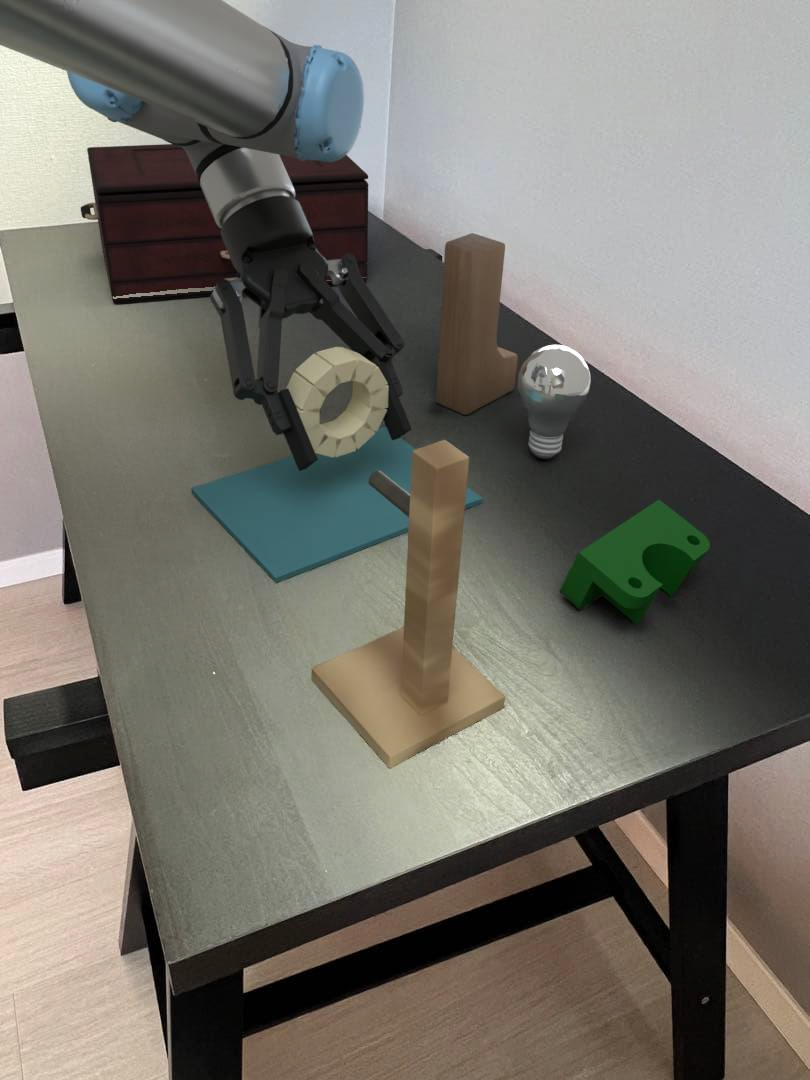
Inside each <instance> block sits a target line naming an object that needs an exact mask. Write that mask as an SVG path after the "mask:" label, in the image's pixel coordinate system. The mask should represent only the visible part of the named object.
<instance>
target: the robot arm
mask: <svg viewBox="0 0 810 1080" xmlns="http://www.w3.org/2000/svg"><path fill="white" fill-rule="evenodd" d="M0 46H2V47H4V48H6V49H10V50H12V51H14V52H17V53H19V54H22V55H25V56H27V57H30V58H32V59H34V60H36V61H37V60H38V61H40V62H41V63H44V64H47V65H49V66H53V67H55V68H58V69H60V70H63V71H66V74H67V79H68V82H69V83H70V84H69V85H70V88H71V89H72V91H73V92H74V94H75V96H76V97H77V99H79V101H80V102H81V103H82V104H83V105H85V106H86V107H88V108H89V109H91V110H93V111H94V112H96V113H98V114H100V115H102V116H104V117H105V118H107V120H108V121H111V122H112V123H119V124H123V125H124V126H128V127H130V128H133V129H135V130H138V131H139V132H143V133H146V134H148V135H151V136H153V137H156V138H159V139H161V140H163V141H164V142H167V144H174V145H177V146H179V147H182V148H183V149H184V150H185V151H186V153H187V155H188V158H189V160H190V162H191V164H192V167H193V169H194V171H195V173H196V176H197V178H198V181H199V183H200V186H201V188H202V191H203V193H204V196H205V198H206V200H207V203H208V205H209V208H210V210H211V212H212V215H213V217H214V220H215V222H216V224H217V225H218V226H219V227H220V228H222V229H221V237H222V239H223V242H224V244H225V247H226V249H227V251H228V254H229V256H230V259H231V261H232V264H233V266H234V267H235V268H236V270H237V273H238V279H235V280H232V281H228V280H226V279H221V280H219V282H218V283H217V285H216V286H215V288H214V290H213V292H212V294H211V295H210V296H209V298H210V302H211V303H212V305H213V306H214V309H215V310H216V312H217V314H218V315H219V317H220V323H221V329H222V333H223V339H224V340H223V341H224V345H225V352H226V357H227V363H228V368H229V375H230V380H231V381H230V382H231V386H232V392H233V396H234V397H235V398H236V399H237V400H239V401H244V400H246V399H249V400H253V402H254V403H255V404H256V405H257V406H261V407H262V409H263V411H264V414H265V416H266V418H267V421H268V424H269V426H270V429H271V431H272V432H273V433H274V434H275V436H281V435H283V436H284V438H285V440H286V443H287V445H288V448H289V450H290V453H291V456H293V458H294V460H295V462H296V465H297V467H298V470H299V471H301V470H304V469H307V468H308V467H309V466H311V465H312V464H313V463H314V462H315V461H317V460H318V459H317V456H316V454H315V452H314V449H313V447H312V444H311V442H310V440H309V437H308V435H307V432H306V430H305V427H304V425H303V423H302V420H301V418H300V416H299V413H298V411H297V408H296V406H295V403H294V401H293V399H292V396H291V394H290V391H289V389H286V388H285V389H281V390H278V388H279V376H280V375H279V374H280V358H281V341H282V327H283V319H287V318H289V317H291V316H292V315H294V314H295V315H304V314H309V313H310V315H312V317H314V318H315V319H316V320H319V321H322V322H323V323H324V324H325V325H326V326H327V328H329V329H330V330H331V332H333V333H334V334H335V335H336V336H337V337H338V338H339V339H340V340H341V341H343V343H344V344H346V346H347V347H348V348H349V349H350V350H351V351H354V352H357V353H359V354H360V355H362V356H363V357H365V358H366V359H368V360H369V361H371V362H372V363H374V364H375V365H376V366H377V367H379V369H380V371H381V373H382V374H383V376H384V378H385V379H386V381H387V383H388V384H387V385H388V386H389V390H388V408H385V409H387V412H386V414H385V416H384V418H383V420H382V421H383V422H384V425H385V427H387V430H388V432H389V434H390V437H391V439H392V440H395V439H398V438H402V437H403V436H404V435H405V434H407V433H408V432H409V431H411V430H413V427H412V425H411V423H410V421H409V419H408V416H407V414H406V412H405V409H404V407H403V404H402V401H401V400H400V397H401V396H402V395H404V392H403V386H402V384H401V382H400V379H399V377H398V374H397V371H396V369H395V367H394V365H393V359H394V357H395V356H396V355H397V354H398V353H400V352H401V351H402V350H403V349H404V348H405V343H406V342H405V340H404V339H403V338H402V335H401V334H400V333H399V331H398V330H397V328H396V327H395V325H394V323H393V322H392V321H391V319H390V318H389V316H388V315H387V314H386V313H387V312H385V310H384V309H383V308H382V306H381V304H380V303H379V301H378V300H377V298H376V297H375V295H374V294H373V292H372V291H371V289H370V288H369V286H368V285H367V282H366V283H365V282H364V280H363V279H362V277H361V275H360V272H359V269H358V265H357V262H356V259H355V257H354V256H353V255H352V254H349V253H347V254H345V255H344V256H343V258H342V259H336V260H326V259H325V258H324V257H323V256H322V255H321V254H320V253H319V252H318V250H317V249H316V247H315V243H314V238H313V234H312V231H311V229H310V226H309V224H308V222H307V219H306V217H305V215H304V212H303V210H302V207H301V205H300V203H299V202H298V201H297V200H296V199H295V195H296V194H295V190H294V187H293V185H292V183H291V180H290V178H289V176H288V174H287V171H286V169H285V167H284V165H283V162H282V160H281V158H280V156H279V155H284V156H289V157H294V158H299V160H302V161H305V160H307V159H308V160H316V161H325V162H334V161H337V160H339V159H341V158H343V157H344V156H345V155H348V154H349V153H350V151H351V150H352V149H353V147H354V146H355V143H356V141H357V139H358V137H359V134H360V131H361V128H362V121H363V115H364V111H365V89H364V82H363V78H362V75H361V72H360V70H359V68H358V65H357V64H356V62H355V61H354V59H352V57H351V56H350V55H348V54H346V53H345V52H341V51H338V50H334V49H333V50H332V49H327V48H323V47H322V46H321V45H318V44H313V45H312V46H307V45H302V44H297V43H294V42H291V41H289V40H288V39H286V38H284V36H281V35H280V34H279V33H276V32H275V31H273V30H271V29H270V28H268V27H266V26H264V25H262V24H260V23H259V22H258V21H256V20H254V19H252V18H251V17H250V16H248V15H246V14H244V13H243V12H242V11H240V10H238V9H237V8H236V7H234V6H233V5H231V4H229V3H227V2H226V1H225V0H0ZM326 276H329V277H331V279H332V280H333V281H332V283H333V284H334V285H336V286H337V287H338V289H339V291H340V294H341V296H342V297H343V299H344V300H345V302H346V303H347V305H348V306H349V308H350V309H349V308H348V307H347V306H346V305H345V304H344V303H343V302H342V301H341V299H340V296H339V294H338V293H337V292H336V290H335V289H333V287H332V286H329V285H328V284H327V283H326V282H325V281H326ZM243 295H244V296H245V297H246V298H248V299H249V300H250V301H252V302H253V303H254V304H256V305H257V306H258V307H259V313H258V328H259V335H258V336H259V337H258V351H257V364H256V365H257V366H256V367H257V368H256V376H255V372H254V370H255V369H254V367H253V360H252V355H251V348H250V343H249V337H248V332H247V326H246V322H245V321H246V320H245V316H244V315H245V314H244V310H243V305H242V302H243V300H244V296H243ZM321 300H322V302H320V301H321Z"/></svg>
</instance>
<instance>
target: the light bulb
mask: <svg viewBox="0 0 810 1080" xmlns="http://www.w3.org/2000/svg"><path fill="white" fill-rule="evenodd" d="M590 371H591V370H590V367H589V366H588V363H587V362H586V361H585V359H584V358H583V357H582V355H581V354H579V353H578V352H577V351H576V350H575V349H573V348H571V347H569V346H567V345H562V344H550V345H545V346H542V347H540V348H537V349H536V350H534V351H533V352H532V353H530V354H529V355H528V356H527V358H526V359H525V360H524V362H523V363H522V365H521V367H520V370H519V372H518V376H517V390H518V395H519V398H520V400H521V403H522V404H523V406H524V408H525V410H526V413H527V416H528V418H527V419H528V420H527V421H528V426H529V429H530V430H529V437H528V447H529V450H530V451H531V453H532V454H533V455H534V456H535V457H537V458H538V459H539V460H541V461H547V460H549V459H551V458H553V457H554V456H556V455H557V454H558V453H560V452H561V451H562V445H563V438H564V434H565V432H566V430H567V429H568V427H569V424H570V420H571V419H572V418H573V417H574V415H575V414H576V413H577V412H578V411H580V409H581V408H582V406H584V404H585V402H586V400H587V399H588V397H589V394H590V390H591V385H592V377H591V372H590Z"/></svg>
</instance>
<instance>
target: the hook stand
mask: <svg viewBox="0 0 810 1080" xmlns="http://www.w3.org/2000/svg"><path fill="white" fill-rule="evenodd" d="M469 466H470V456H468V455H467V454H465V453H464V452H463V451H461V450H460V449H459V448H457V446H456V447H455V446H454V445H453V444H451V443H450V442H448V441H447V440H446V439H442V440H439V441H436V442H434V443H430V444H428V445H425V446H424V445H423V446H422V447H419V448H415V450H413V451H412V467H411V488H410V493H408V492H407V491H406V490H405V489H403V488H402V487H401V486H400V485H398V484H397V483H396V482H395V481H393V480H392V479H391V478H390V477H388V476H387V475H386V474H385V473H383V472H382V471H379V470H378V471H375V472H373V473H372V474H371V475H370V477H369V485H370V486H371V487H373V488H374V489H375V490H376V491H377V492H379V493H380V494H381V495H382V496H383V497H385V498H386V499H387V500H388V501H390V502H391V503H392V504H393V505H394V506H396V507H397V508H398V509H399V510H400V511H402V512H403V513H404V514H405V515H406V516H408V517H409V530H408V532H407V533H408V535H407V552H406V571H405V573H406V574H405V575H406V576H405V596H404V615H403V618H404V619H403V627H399V628H398V629H397V630H394V631H391V632H389V633H386V634H384V635H382V636H380V637H378V638H376V639H373V640H371V641H369V642H367V643H365V644H362V645H360V646H358V647H355V648H353V649H351V650H349V651H347V652H344V653H342V654H340V655H338V656H335V657H333V658H331V659H329V660H327V661H325V662H322V663H320V664H317V665H315V666H313V667H311V680H312V681H313V683H314V684H315V685H316V686H317V687H318V688H319V689H320V690H321V692H322V693H323V694H324V696H326V697H327V699H328V700H329V701H330V702H331V703H332V705H334V707H335V708H336V709H337V710H338V711H339V712H340V714H342V716H343V717H344V718H345V719H346V720H347V722H348V723H349V724H350V725H351V727H353V729H354V730H355V731H356V732H357V733H358V734H359V735H360V737H361V738H363V740H364V741H365V742H366V744H367V745H368V746H369V747H370V748H371V749H372V750H373V751H374V753H375V754H376V755H377V756H378V757H379V758H380V759H381V761H382V762H383V763H384V764H385V765H386V767H388V769H391V768H393V767H395V766H397V765H399V764H400V763H402V762H404V761H406V760H409V759H411V758H412V757H414V756H416V755H417V754H420V753H421V752H423V751H425V750H427V749H429V748H431V747H433V746H434V745H436V744H438V743H440V742H442V741H444V740H446V739H447V738H449V737H451V736H453V735H455V734H457V733H459V732H461V731H463V730H464V729H467V728H468V727H470V726H472V725H474V724H476V723H477V722H479V721H481V720H483V719H485V718H487V717H489V716H490V715H492V714H495V713H496V712H498V711H500V710H502V709H504V707H505V703H506V702H505V701H506V696H505V694H503V692H502V691H500V689H499V688H498V687H496V686H495V685H494V684H493V683H492V682H491V681H490V680H489V679H488V678H487V677H486V676H485V675H484V674H482V673H481V672H480V670H478V669H477V667H475V666H473V664H471V662H470V661H468V660H467V659H466V658H465V657H464V656H463V655H462V654H461V653H460V652H459V651H457V650H456V649H455V648H454V647H453V646H454V645H453V644H454V634H455V622H456V612H457V611H456V610H457V600H458V589H459V588H458V586H459V578H460V568H461V567H460V566H461V557H462V543H463V533H464V522H465V511H466V509H465V500H466V489H467V487H468V478H469V477H468V476H469Z"/></svg>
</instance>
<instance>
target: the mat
mask: <svg viewBox="0 0 810 1080" xmlns="http://www.w3.org/2000/svg"><path fill="white" fill-rule="evenodd" d="M374 432H375V434H374V435H373V436H372V437H371V438H370V439H369V440H368V441H367V442H366V443H365V444H363V445H362V446H361V447H360V448H359V449H357V448H356V451H354V452H351V453H348V454H345V455H342V456H339V457H333V458H332V457H328V456H324V455H320V454H316V453H315V454H316V456H317V459H318V460H317V461H315V462H314V463H313V464H312V465H311V466H309V467H308V468H307V469H304V470H301V471H299V470H298V467H297V465H296V462H295V460H294V458H293V455H290V456H287V457H284V458H282V459H278V460H275V461H271V462H269V463H265V464H263V465H259V466H256V467H252V468H250V469H247V470H243V471H240V472H237V473H233V474H231V475H228V476H224V477H221V478H218V479H215V480H212V481H209V482H205V483H203V484H199V485H196V486H193V487H190V490H191V494H192V495H193V496H194V497H195V498H196V499H197V501H198V502H199V503H200V504H201V505H202V506H203V507H204V509H206V510H207V511H208V512H209V513H210V514H211V515H212V516H213V517H214V518H215V519H216V521H217V522H218V523H219V524H220V525H221V526H222V527H223V529H225V531H227V532H228V533H229V534H230V535H231V537H232V538H233V539H234V540H235V541H236V543H238V545H240V546H241V547H242V549H244V551H245V552H246V553H247V554H248V555H249V556H250V557H251V558H252V559H253V560H254V561H255V562H256V564H257V565H259V567H260V568H261V569H262V570H263V571H264V572H265V573H266V575H268V576H269V577H270V578H271V579H272V581H274V583H276V584H277V583H280V582H282V581H285V580H288V579H289V578H294V577H296V576H298V575H300V574H303V573H305V572H308V571H310V570H314V569H315V568H318V567H321V566H323V565H326V564H329V563H331V562H334V561H337V560H338V559H339V560H340V559H341V558H344V557H346V556H348V555H349V556H350V555H352V554H354V553H357V552H359V551H362V550H364V549H367V548H370V547H372V546H375V545H378V544H380V543H383V542H385V541H388V540H391V539H393V538H395V537H396V538H397V537H398V536H401V535H403V534H406V533H408V530H409V517H408V516H406V515H405V514H404V513H403V512H402V511H400V510H399V509H398V508H397V507H396V506H394V505H393V504H392V503H391V502H390V501H388V500H387V499H386V498H385V497H383V496H382V495H381V494H380V493H379V492H377V491H376V490H375V489H374V488H373V487H371V486H370V485H369V477H370V475H371V474H372V473H373V472H375V471H378V470H379V471H382V472H383V473H385V474H386V475H387V476H388V477H390V478H391V479H392V480H393V481H395V482H396V483H397V484H398V485H400V486H401V487H402V488H403V489H405V490H406V491H407V492H408V493H410V488H411V467H412V451H413V450H415V449H416V447H414V446H413V445H411V444H410V443H409V442H407V441H406V440H404V439H403V438H402V437H400V438H398V439H395V440H392V439H391V437H390V434H389V432H388V430H387V427H386V426H382V427H379V429H378V431H374ZM482 503H483V497H481V496H480V495H479V494H477V493H476V492H475V491H473V489H471V488H470V487H468V486H467V489H466V500H465V510H467V509H470V508H473V507H476V506H478V505H481V504H482Z"/></svg>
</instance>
